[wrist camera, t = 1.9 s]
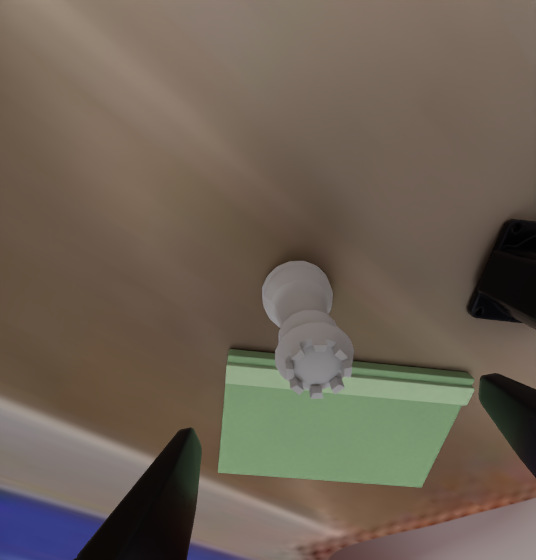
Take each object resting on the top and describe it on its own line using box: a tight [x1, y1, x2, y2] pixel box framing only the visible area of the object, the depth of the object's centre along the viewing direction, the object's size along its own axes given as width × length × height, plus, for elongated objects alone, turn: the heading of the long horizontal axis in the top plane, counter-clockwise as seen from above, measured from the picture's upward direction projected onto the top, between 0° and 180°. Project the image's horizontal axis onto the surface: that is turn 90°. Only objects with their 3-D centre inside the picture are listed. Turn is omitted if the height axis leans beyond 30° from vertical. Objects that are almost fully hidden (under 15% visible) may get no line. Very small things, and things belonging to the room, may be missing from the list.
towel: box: [218, 349, 475, 487], centre depth 21 cm, size 18×12×1 cm, turn 83°
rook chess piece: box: [262, 261, 354, 399], centre depth 14 cm, size 4×4×8 cm
